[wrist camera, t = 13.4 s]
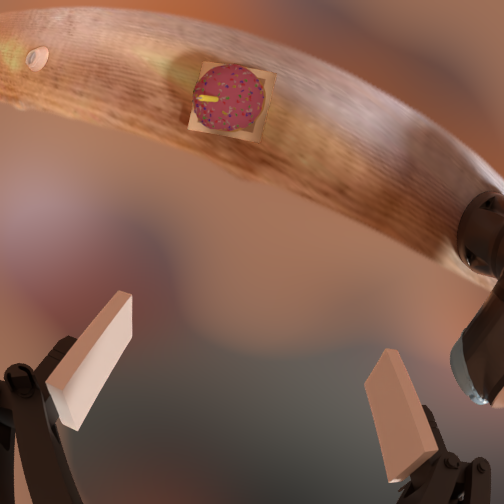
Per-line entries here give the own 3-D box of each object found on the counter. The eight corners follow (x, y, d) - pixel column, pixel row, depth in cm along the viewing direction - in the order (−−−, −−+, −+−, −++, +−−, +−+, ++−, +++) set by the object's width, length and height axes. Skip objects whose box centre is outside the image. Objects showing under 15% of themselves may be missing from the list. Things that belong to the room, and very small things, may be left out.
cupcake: (217, 143, 38) (195, 147, 27) (191, 89, 35) (159, 74, 24) (276, 116, 36) (278, 108, 25) (249, 61, 34) (239, 33, 23)
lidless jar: (52, 58, 35) (45, 42, 34) (43, 56, 33) (36, 39, 31) (36, 76, 37) (29, 60, 35) (26, 75, 34) (19, 59, 32)
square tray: (276, 76, 37) (276, 73, 34) (260, 142, 40) (259, 143, 38) (206, 64, 36) (202, 60, 34) (192, 129, 40) (186, 129, 38)
